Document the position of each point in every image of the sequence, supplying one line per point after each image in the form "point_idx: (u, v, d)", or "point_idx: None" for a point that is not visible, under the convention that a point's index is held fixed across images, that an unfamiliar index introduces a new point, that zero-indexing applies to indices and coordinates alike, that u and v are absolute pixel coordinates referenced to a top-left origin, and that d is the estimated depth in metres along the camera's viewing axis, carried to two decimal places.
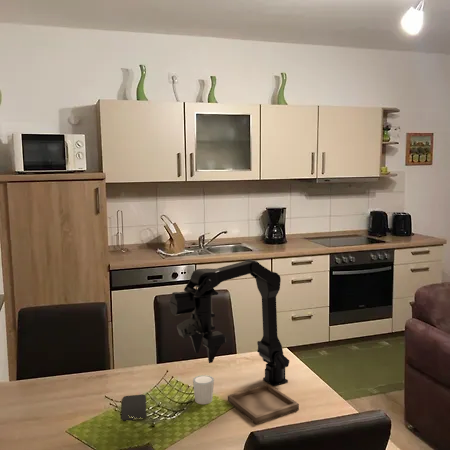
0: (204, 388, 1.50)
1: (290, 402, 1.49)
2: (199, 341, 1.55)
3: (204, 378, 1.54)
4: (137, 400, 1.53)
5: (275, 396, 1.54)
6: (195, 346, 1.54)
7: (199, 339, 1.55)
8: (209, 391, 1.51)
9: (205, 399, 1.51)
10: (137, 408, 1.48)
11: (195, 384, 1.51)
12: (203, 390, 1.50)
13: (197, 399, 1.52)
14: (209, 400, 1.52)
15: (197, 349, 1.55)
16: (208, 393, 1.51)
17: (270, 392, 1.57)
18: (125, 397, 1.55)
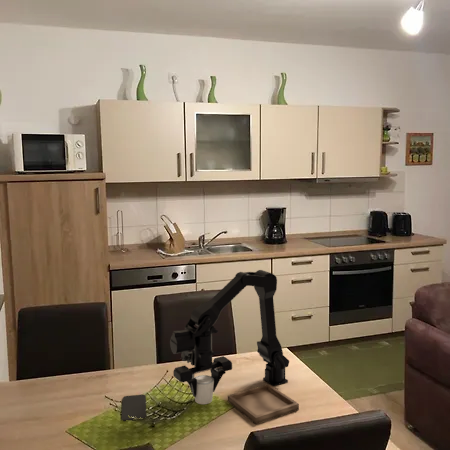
0: (204, 388, 1.50)
1: (290, 402, 1.49)
2: (214, 381, 1.54)
3: (204, 378, 1.54)
4: (137, 400, 1.53)
5: (275, 396, 1.54)
6: None
7: (214, 380, 1.54)
8: (209, 391, 1.51)
9: (205, 399, 1.51)
10: (137, 408, 1.48)
11: None
12: (203, 390, 1.50)
13: (197, 399, 1.52)
14: (209, 400, 1.52)
15: None
16: (208, 393, 1.51)
17: (270, 392, 1.57)
18: (125, 397, 1.55)
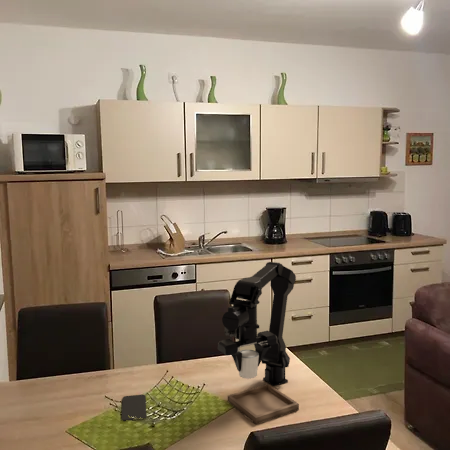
0: (249, 362, 1.46)
1: (290, 402, 1.49)
2: None
3: (248, 352, 1.50)
4: (136, 400, 1.53)
5: (275, 396, 1.54)
6: None
7: (259, 354, 1.50)
8: (254, 365, 1.47)
9: (250, 373, 1.47)
10: (137, 408, 1.48)
11: None
12: (248, 364, 1.46)
13: (242, 373, 1.48)
14: (254, 375, 1.48)
15: None
16: (253, 367, 1.47)
17: (270, 392, 1.57)
18: (125, 397, 1.55)
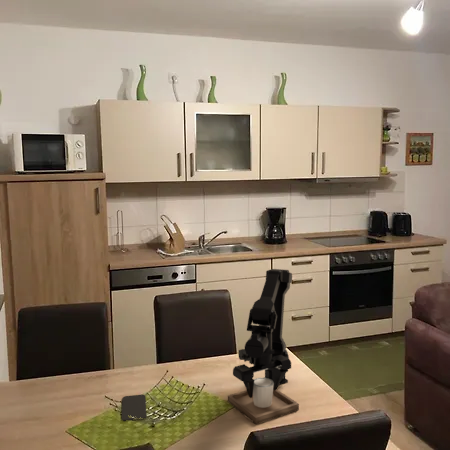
0: (265, 391, 1.46)
1: (290, 402, 1.49)
2: (276, 380, 1.51)
3: (263, 381, 1.50)
4: (136, 400, 1.53)
5: (275, 396, 1.54)
6: None
7: (276, 378, 1.50)
8: (270, 394, 1.47)
9: (265, 402, 1.47)
10: (137, 408, 1.48)
11: (255, 387, 1.47)
12: (264, 393, 1.46)
13: (257, 402, 1.48)
14: (269, 403, 1.48)
15: (274, 386, 1.51)
16: (268, 396, 1.47)
17: None
18: (125, 397, 1.55)
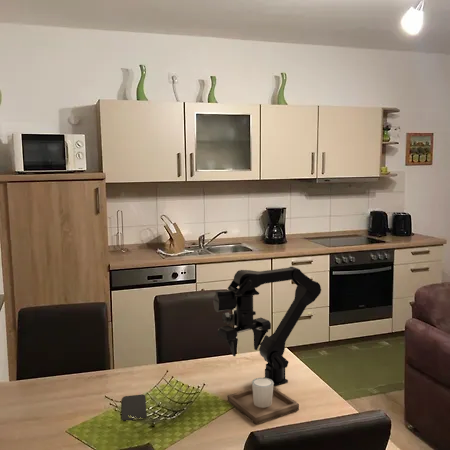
0: (265, 391, 1.46)
1: (290, 402, 1.49)
2: (257, 340, 1.63)
3: (263, 381, 1.50)
4: (136, 400, 1.53)
5: (275, 396, 1.54)
6: (254, 342, 1.65)
7: (257, 338, 1.63)
8: (269, 394, 1.47)
9: (265, 402, 1.47)
10: (137, 408, 1.48)
11: (255, 387, 1.47)
12: (264, 393, 1.46)
13: (257, 402, 1.48)
14: (269, 403, 1.48)
15: (255, 346, 1.64)
16: (268, 396, 1.47)
17: None
18: (125, 397, 1.55)
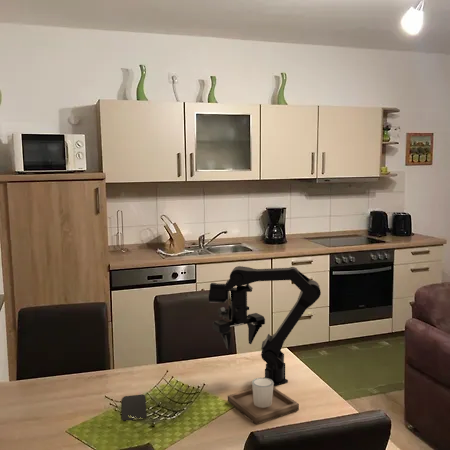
0: (265, 391, 1.46)
1: (290, 402, 1.49)
2: (251, 334, 1.69)
3: (263, 381, 1.50)
4: (136, 400, 1.53)
5: (275, 396, 1.54)
6: (248, 337, 1.70)
7: (252, 333, 1.69)
8: (269, 394, 1.47)
9: (265, 402, 1.47)
10: (137, 408, 1.48)
11: (255, 387, 1.47)
12: (264, 393, 1.46)
13: (257, 402, 1.48)
14: (269, 403, 1.48)
15: (249, 340, 1.70)
16: (268, 396, 1.47)
17: None
18: (125, 397, 1.55)
